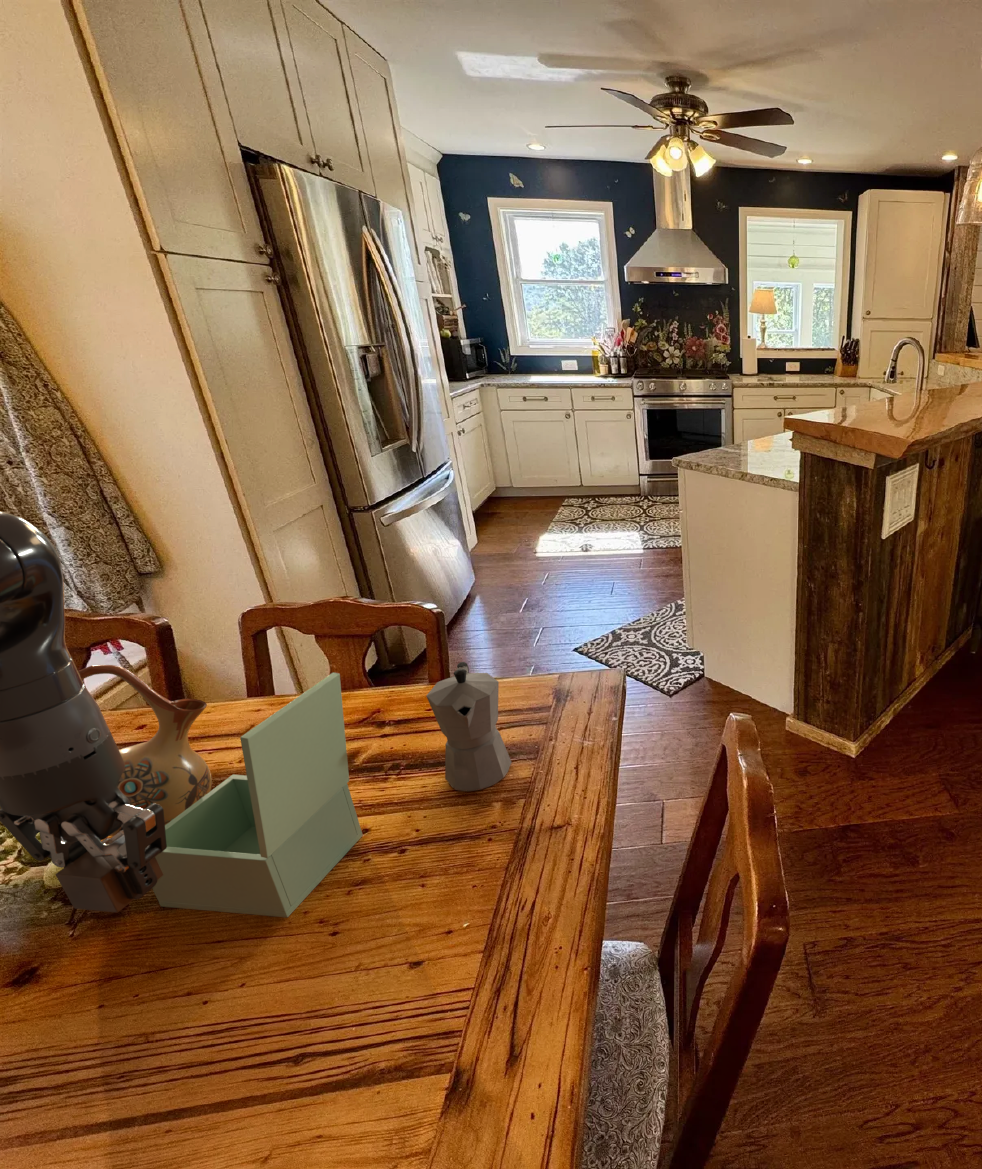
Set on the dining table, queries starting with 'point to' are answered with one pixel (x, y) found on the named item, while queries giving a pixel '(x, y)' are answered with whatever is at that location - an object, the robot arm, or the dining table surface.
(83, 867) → the block
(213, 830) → the box
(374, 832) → the dining table surface
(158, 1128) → the dining table surface
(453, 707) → the coffeepot
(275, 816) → the lid
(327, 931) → the dining table surface
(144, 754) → the ceramic vessel
